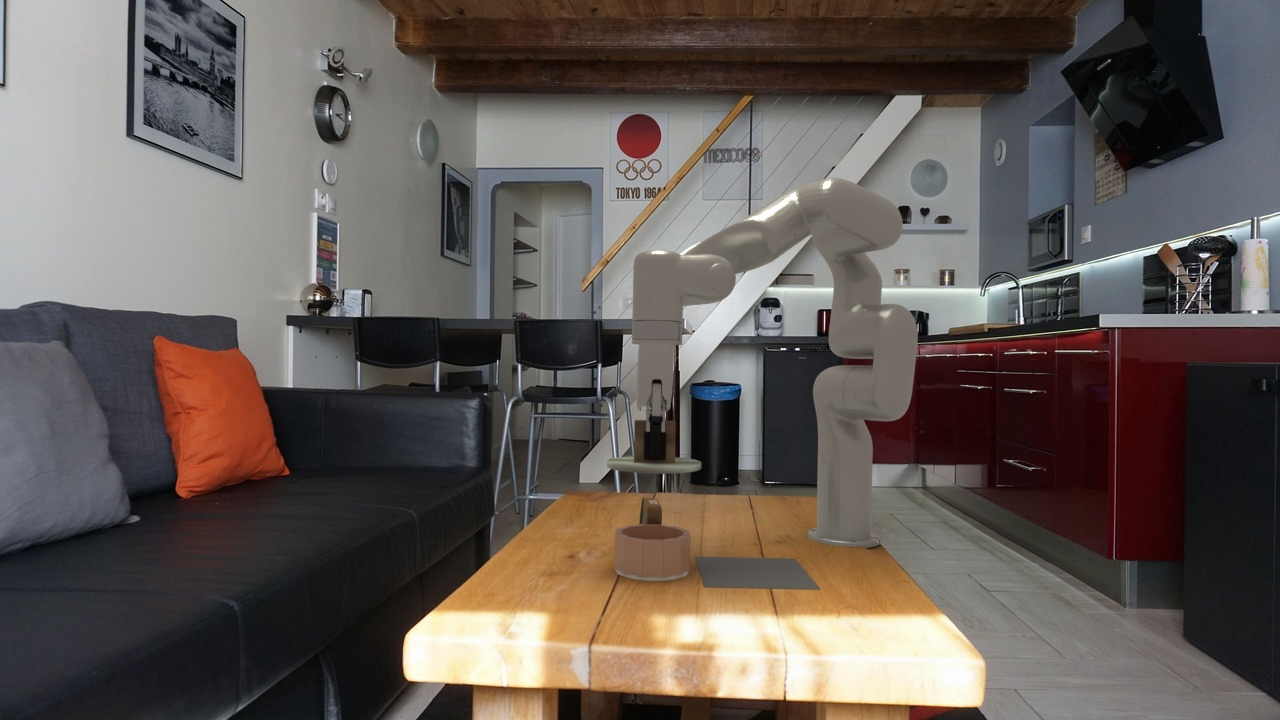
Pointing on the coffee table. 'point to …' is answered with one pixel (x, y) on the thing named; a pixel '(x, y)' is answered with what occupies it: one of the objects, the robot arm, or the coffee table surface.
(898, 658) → the coffee table surface
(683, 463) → the lid
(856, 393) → the robot arm
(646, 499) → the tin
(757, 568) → the mat
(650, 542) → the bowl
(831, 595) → the coffee table surface
